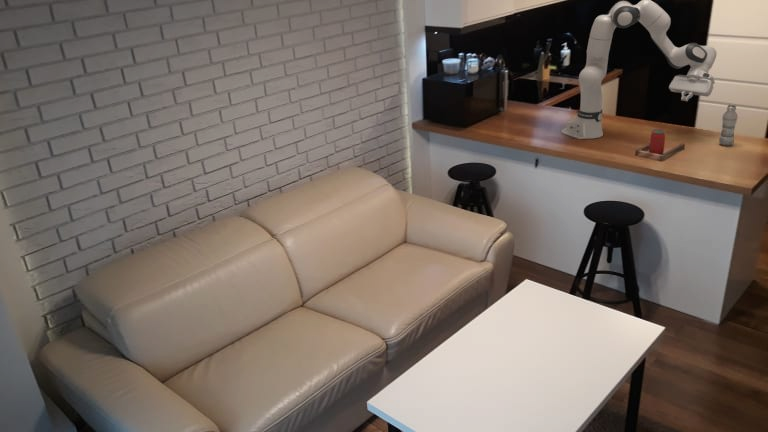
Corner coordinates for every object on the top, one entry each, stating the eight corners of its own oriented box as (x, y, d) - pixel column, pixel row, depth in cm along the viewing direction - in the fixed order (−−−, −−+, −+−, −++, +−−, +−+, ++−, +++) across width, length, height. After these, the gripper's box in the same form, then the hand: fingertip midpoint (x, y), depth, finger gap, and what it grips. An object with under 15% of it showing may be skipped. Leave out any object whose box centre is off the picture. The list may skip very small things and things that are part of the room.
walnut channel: (635, 155, 305) (635, 150, 304) (657, 143, 317) (658, 138, 315) (662, 161, 295) (662, 156, 294) (684, 148, 307) (684, 143, 305)
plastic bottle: (734, 147, 302) (740, 108, 293) (718, 146, 304) (724, 108, 296) (732, 142, 307) (738, 104, 299) (717, 142, 310) (723, 104, 301)
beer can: (664, 156, 300) (666, 133, 295) (649, 156, 301) (652, 133, 296) (662, 151, 306) (664, 129, 300) (647, 151, 307) (650, 129, 302)
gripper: (674, 70, 313) (662, 94, 312) (715, 75, 298) (702, 100, 297) (677, 77, 317) (665, 100, 316) (718, 82, 302) (705, 106, 301)
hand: (684, 100), depth 306 cm, fingers closed
